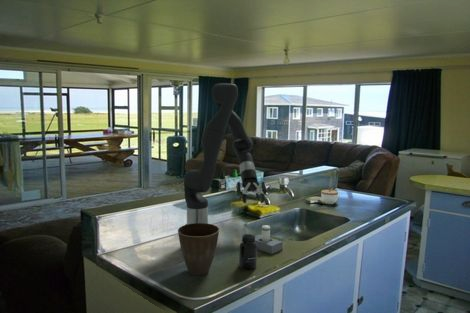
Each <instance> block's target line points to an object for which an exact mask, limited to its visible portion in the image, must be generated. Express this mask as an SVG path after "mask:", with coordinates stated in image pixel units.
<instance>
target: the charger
mask: <svg viewBox="0 0 470 313" xmlns="http://www.w3.org/2000/svg"><path fill="white" fill-rule="evenodd" d="M261 235H262V242H265V243H267V242H270V238H271V226H270V225H268V224H267V225H266V224H265V225H264V224H263V225H261Z"/></svg>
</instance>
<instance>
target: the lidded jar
mask: <svg viewBox="0 0 470 313" xmlns="http://www.w3.org/2000/svg"><path fill="white" fill-rule="evenodd" d="M320 193H321V194H320V196H321V200H322V202H323V203H324V202H325V203H324V204H326V205H334V204H335V203H336V202H337V200H338V198H339V191H337V190H335V189H333V190H332V188H328V189H322V190H321V192H320Z"/></svg>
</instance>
